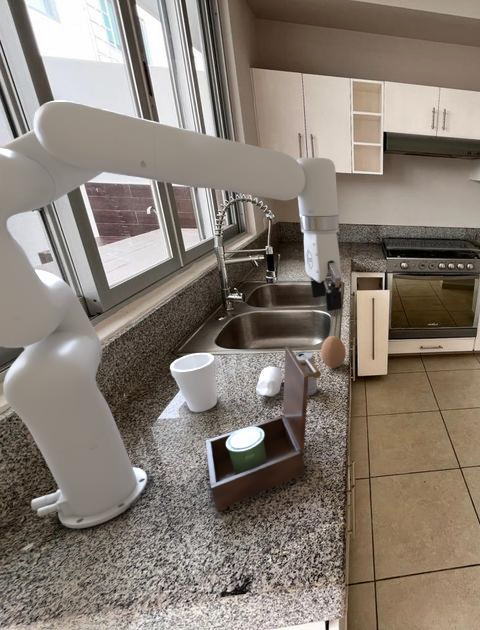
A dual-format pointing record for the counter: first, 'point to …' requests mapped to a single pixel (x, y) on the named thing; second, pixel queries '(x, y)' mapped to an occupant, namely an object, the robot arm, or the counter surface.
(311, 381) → the energy drink
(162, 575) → the counter surface
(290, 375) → the lid
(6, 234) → the robot arm
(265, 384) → the roll
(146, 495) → the counter surface
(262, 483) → the chest
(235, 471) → the pot
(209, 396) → the foam cup
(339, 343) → the egg
